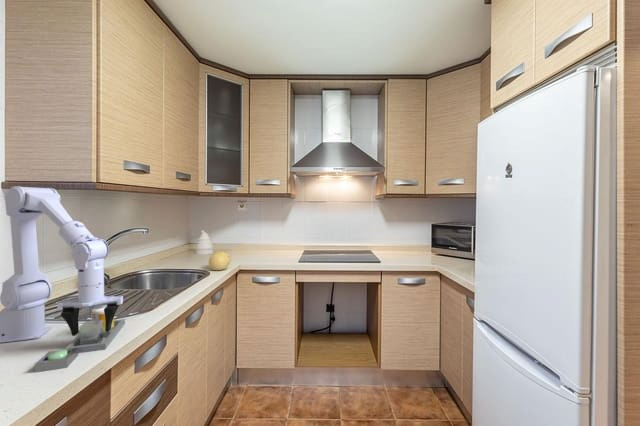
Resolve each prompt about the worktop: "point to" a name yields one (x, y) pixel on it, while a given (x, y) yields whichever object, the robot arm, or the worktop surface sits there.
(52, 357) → the button
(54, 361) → the grey square tray
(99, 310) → the supplement bottle
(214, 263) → the yellow round fruit
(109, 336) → the pallet frame
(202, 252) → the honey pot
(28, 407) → the worktop surface
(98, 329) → the block
